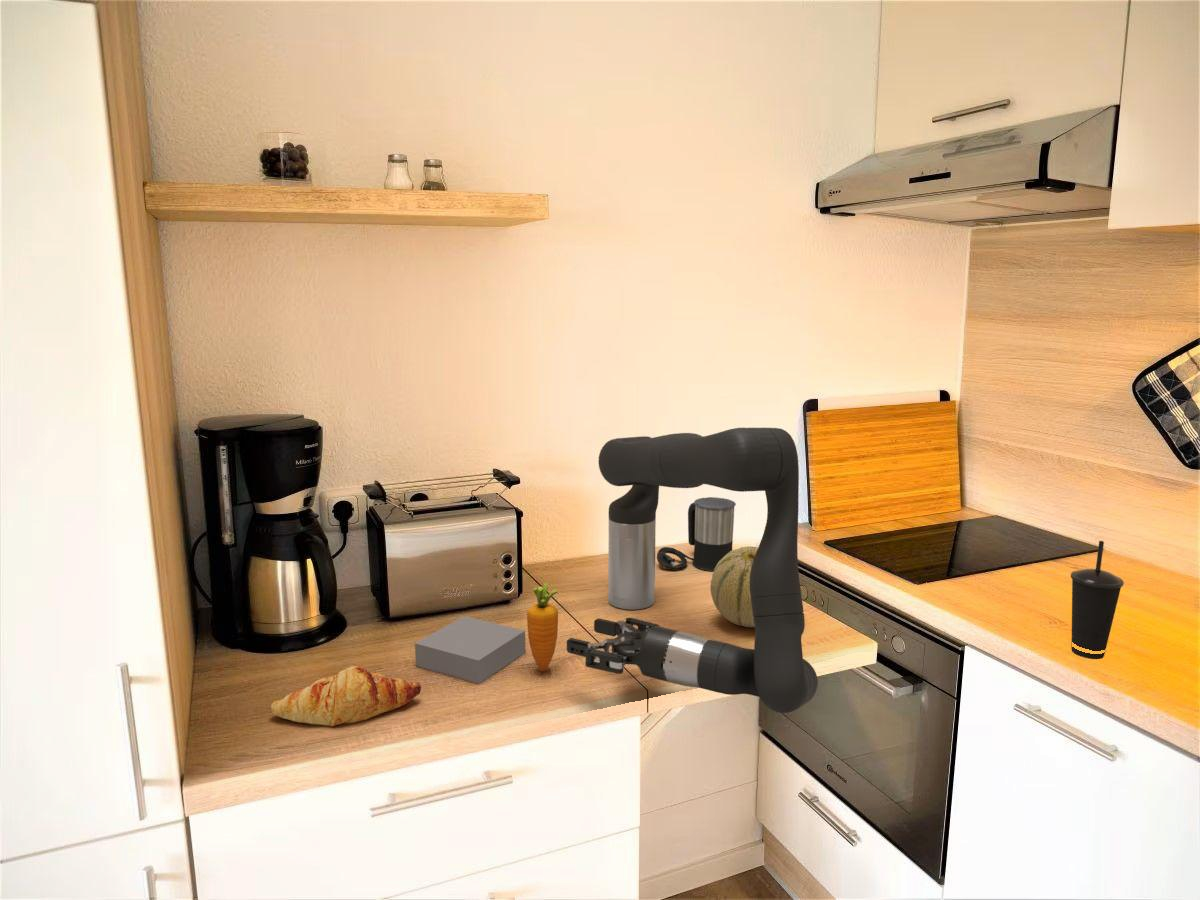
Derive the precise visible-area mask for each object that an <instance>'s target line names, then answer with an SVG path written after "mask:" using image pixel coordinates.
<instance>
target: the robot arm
mask: <svg viewBox="0 0 1200 900" xmlns="http://www.w3.org/2000/svg"><path fill="white" fill-rule="evenodd" d="M799 467H800V466H799V456H798V451H797V446H796V442H795V440H794V439H793V436H792V435H791V434H790V433H789V432H788V431H786V430H785V429H782V428H777V427H734V428H729V429H726V430H723V431H718V432H716V433H712V434H709V435H705V436H702V435H700V434H698V433H694V432H679V433H671V434H665V435H660V436H659V435H658V436H655V437H650V436H647V435H646V436H645V435H643V436H641V435H640V436H632V437H631V436H630V437H620V438H619V437H617V438H613V439H610V440H608V441H607V442H605V444H603V446H602V448H601V449H600V451H599V454H598V469H599V471H600V473H601V476H602V477H603V479H604V480H605V481H606V482H607V483H608V484H610V485H612V486H615V487H625V486H628V487H629V486H631V488H630V489H628V491H627V492H626V493H625V494H623V495H622V496H620V497H619V498H617V499H615V500H613V501H611V503H610V504H609V506H608V559H607V560H608V566H607V567H608V574H607V575H608V576H607V577H608V578H607V579H608V584H607V587H608V591H607V596H608V599H607V601H608V603H609V604H610V605H611V606H613V607H615V608H618V609H621V610H622V609H623V610H632V611H633V610H644V609H647V608H649V607H651V606H653V605H654V604H655V597H656V593H655V591H656V590H655V589H656V587H655V586H656V528H657V527H656V525H657V523H656V520H657V519H656V514H657V509H658V505H659V499H660V498H659V497H660V496H659V495H660V494H659V493H660V492H659V491H660V487H665V488H674V489H692V488H693V489H694V488H699V487H701V486H703V485H708V486H712V487H716V488H721V489H724V490H728V491H731V492H732V491H734V492H740V493H741V492H764V493H765V499H766V505H767V506H766V507H767V511H766V513H767V516H766V523H765V527H764V530H763V535H762V537H761V540H760V543H759V545H758V550H757V552H756V555H755V558H754V560H753V563H752V567H751V572H750V583H749V584H750V596H751V604H752V612H753V616H754V617H753V620H754V625H755V627H754V632H755V633H754V634H755V635H754V645H753V647H754V648H748V647H747V648H746V647H742V646H738V645H735V644H732V643H728V642H722V641H719V640H718V641H717V640H713V639H710V638H706V637H704V636H702V635H698V634H695V633H691V632H685V631H681V630H677V629H673V628H666V627H663V626H660V625H659V624H658V623H653V622H649V621H645V620H641V619H637V618H633V617H626V618H625V620H618V621H613V620H610V619H609V620H608V619H603V618H598V617H597V618H596V619H594V621H593V630H594V632H595V633H597V634H601V635H604V636H605V635H606V636H609V637H610V636H611V637H614V638H605V639H603V640H602V641H601V642H590V641H588V640H587V641H586V640H582V639H578V638H573V637H569V638H568V639H567V640H566V652H567V653H569V654H572V655H575V656H580V657H583V658H585V665H584V666H585V667H586V668H589V669H590V668H591V669H595V670H598V671H603V672H608V673H613V674H617V675H622V674H623V673H624V666H625V665H634V666H635V665H636V666H637V668H638V669H639V671H640V673H641V674H642V675H643V676H644V677H648V678H651V679H656V680H660V681H663V682H667V683H671V684H674V685H675V684H676V685H679V686H684V687H687V688H688V687H690V688H699V689H702V690H706V691H710V692H715V693H718V694H723V695H730V696H737V695H749V696H754V697H759V699H760V700H761V701H762V703H763V704H764V705H765V706H766V707H767V708H768V709H770V710H771V711H773V712H776V713H779V714H780V713H781V714H786V713H787V714H788V713H792V712H794V711H796V710H798V709H800V708H801V707H802V706H804V705H806V704H807V703H809V702H810V701H811V700H812V699H813V697H814V696H815V695H816V692H817V689H818V685H819V684H818V683H819V679H818V675H817V672H816V670H815V669H814V667H813V666H812V665H811V663H809V661H808V660H807V659H804V655H803V646H802V643H803V642H802V637H803V634H804V631H805V628H806V627H805V625H806V623H805V619H806V618H805V613H804V602H803V597H802V588H801V582H800V571H799V559H798V558H799V557H798V555H799V554H798V541H799V540H798V539H799V537H798V535H799V531H798V530H799V493H800V492H799V489H800V487H799V486H800V481H799V480H800V477H799V476H800V471H799V470H800V468H799ZM635 626H636V627H637V628H635ZM610 647H611V651H610Z"/></svg>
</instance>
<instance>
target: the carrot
mask: <svg viewBox="0 0 1200 900" xmlns="http://www.w3.org/2000/svg"><path fill="white" fill-rule="evenodd" d="M548 588H549V583H547V582H545V583H543V586H538V587H535V588H533V593H534V594H535V597H536V599H537V603H535V604H532V606H530V607H529V608H528V610H527V613H526V621H527V623H526V624H527V636H528V642H529V648H530V651H531V655H532V657H533V659H534V662H535V664H536V665H537V667H538V669H539V670H540V671H541V672H543V673H544V672H546V671H547V670H548V667H549V666H550V664H551V662H552V659H553V657H554V655H555V650H556V647H557V646H556V645H557V640H558V631H559V629H558V628H559V611H558V608H556V607H555V606H554V605H553V604H551V603H549V601H550V600H551V598H552V597H553V596H554V595H555V594H557V593H559V592H558V590H557V589H554V590H551V591H550V592H549V593H548ZM547 593H548V595H547Z"/></svg>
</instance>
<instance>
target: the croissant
mask: <svg viewBox="0 0 1200 900" xmlns="http://www.w3.org/2000/svg"><path fill="white" fill-rule="evenodd" d="M421 691H422V685H421V683H420V682H418V681H416V680H414V681H411V682H410V681H409V682H407V681H406V680H405V679H403V678H398V677H395V678H390V677H387V676H386V675H384V674H382V673H380V672H379V673H378V672H376V671H367V669H365V668H364V667H363V666H361V665H356V666H355V665H351V666H348V667H345V668H344V669H342V670H340V671H338V672H337V674H335V675H331V676H325V677H323V678H320V679H317V680H316V681H314V682H313V683H312V684H311V685H308V686H306V687H304V688H300V689H297V690H293V691H292V692H291V693H289V694H287V695H285V696H284V698H283V699H278V700H274V701H273V703H271V706H270V708H271V713H272V714H273V715H275V716H276V717H278V718H279V717H280V718H281V719H284V720H289V721H292V722H296V723H304V724H308V725H309V724H310V725H318V726H319V725H320V726H328V727H329V726H330V727H335V726H339V725H342V724H354V723H357V722H362V721H365V720H369V719H370V718H372V717H373V718H374V717H375V716H378V715H380V714H383V713H386V712H390V711H393V710H395V709H397V708H398V709H399V708H400V707H403V706H404V705H407V704H408V703H409V702H410V701H411V700H413V699H415V697H417V696H418V695H420V694H421Z"/></svg>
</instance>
